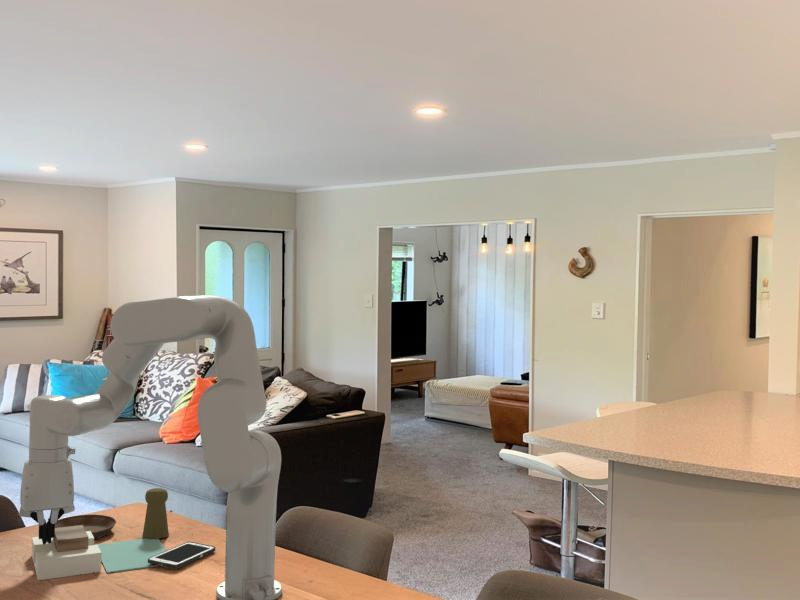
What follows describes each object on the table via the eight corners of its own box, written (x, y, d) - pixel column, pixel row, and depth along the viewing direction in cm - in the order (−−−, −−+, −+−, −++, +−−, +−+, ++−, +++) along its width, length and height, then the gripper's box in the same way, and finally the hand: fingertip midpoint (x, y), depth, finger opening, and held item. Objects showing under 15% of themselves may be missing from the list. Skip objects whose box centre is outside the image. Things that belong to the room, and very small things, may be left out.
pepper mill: (140, 533, 193) (141, 487, 193) (166, 531, 195) (167, 485, 196) (144, 539, 187) (145, 491, 188) (170, 537, 190) (171, 490, 190)
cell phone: (145, 563, 171) (145, 559, 171) (188, 545, 185) (189, 541, 185) (175, 570, 168) (175, 565, 168) (217, 551, 182) (217, 546, 182)
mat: (175, 563, 173) (175, 562, 173) (107, 573, 166) (107, 571, 166) (157, 538, 190) (157, 537, 190) (93, 546, 183) (94, 544, 183)
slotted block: (101, 571, 167) (101, 552, 167) (37, 580, 162) (38, 560, 162) (90, 548, 181) (90, 530, 181) (31, 555, 176) (32, 537, 176)
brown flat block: (88, 548, 169) (88, 536, 169) (57, 552, 167) (57, 540, 167) (82, 536, 177) (82, 525, 177) (52, 539, 174) (52, 528, 174)
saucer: (93, 547, 183) (93, 535, 183) (35, 541, 186) (35, 529, 186) (127, 528, 198) (128, 517, 198) (73, 523, 201) (73, 512, 201)
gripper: (84, 448, 176) (81, 532, 177) (8, 453, 169) (5, 541, 169) (89, 455, 170) (86, 542, 170) (10, 461, 162) (8, 551, 163)
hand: (46, 541), depth 170 cm, fingers closed
